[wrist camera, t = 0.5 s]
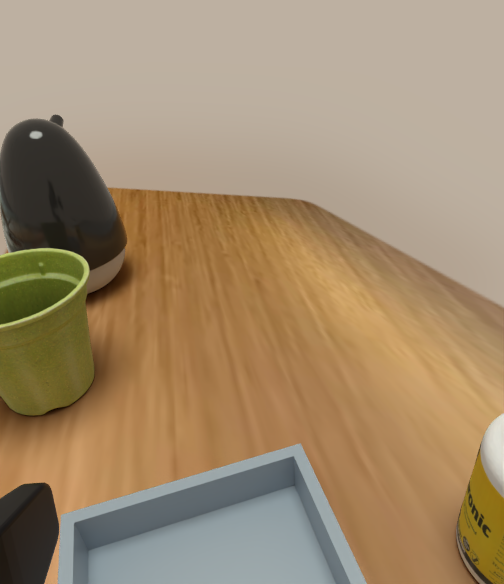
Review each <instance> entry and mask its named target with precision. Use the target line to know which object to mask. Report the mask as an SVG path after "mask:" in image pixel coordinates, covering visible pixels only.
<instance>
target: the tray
mask: <svg viewBox="0 0 504 584" xmlns="http://www.w3.org/2000/svg"><path fill="white" fill-rule="evenodd" d="M58 584H367V583H366V581H365V579H364V577H363V575H362V572H361V570H360V568H359V566H358V564H357V562H356V560H355V558H354V556H353V553H352V551H351V549H350V547H349V545H348V543H347V541H346V539H345V537H344V534H343V532H342V530H341V528H340V526H339V524H338V522H337V520H336V518H335V515H334V513H333V511H332V509H331V507H330V505H329V503H328V501H327V498H326V496H325V494H324V492H323V490H322V488H321V486H320V484H319V482H318V479H317V477H316V475H315V473H314V471H313V469H312V467H311V465H310V463H309V460H308V458H307V456H306V454H305V452H304V450H303V448H302V446H301V444H297V445H294V446H290V447H287V448H284V449H280V450H277V451H274V452H270V453H267V454H263V455H260V456H257V457H253V458H250V459H247V460H243V461H240V462H237V463H233V464H230V465H227V466H223V467H220V468H217V469H213V470H210V471H207V472H203V473H200V474H197V475H193V476H190V477H186V478H183V479H180V480H176V481H173V482H170V483H166V484H163V485H160V486H156V487H153V488H150V489H146V490H143V491H140V492H136V493H133V494H130V495H126V496H123V497H120V498H116V499H113V500H109V501H106V502H103V503H99V504H96V505H93V506H89V507H86V508H83V509H79V510H76V511H73V512H69V513H66V514H63V515H61V528H60V548H59V569H58Z"/></svg>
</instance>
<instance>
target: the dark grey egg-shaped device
mask: <svg viewBox="0 0 504 584" xmlns="http://www.w3.org/2000/svg"><path fill="white" fill-rule="evenodd" d="M0 211H1V219H2V225H3V230H4V235H5V239H6V244H7V248H8V252H9V253H12V252H17V251H22V250H30V249H39V248H53V249H61V250H67V251H71V252H74V253H76V254H78V255H80V256H82V257H83V258H84V259H85V260H86V261H87V263H88V265H89V269H90V276H89V280H88V282H87V284H86V285H87V294H88V293H91V292H94V291H96V290H98V289H100V288H102V287H104V286H105V285H107V284H108V283H109V282H110V281H111V280H112V279H113V278H114V277H115V276H116V275H117V273H118V272H119V270H120V268H121V266H122V264H123V260H124V255H125V246H126V244H127V235H126V231H125V228H124V225H123V222H122V219H121V217H120V214H119V212H118V210H117V207H116V205H115V203H114V201H113V198H112V196H111V194H110V192H109V190H108V188H107V187H106V185H105V183H104V181H103V179H102V178H101V176H100V174H99V173H98V171H97V169H96V167H95V166H94V164H93V163H92V161H91V160H90V158H89V157H88V155H87V154H86V152H85V151H84V150H83V148H82V147H81V146H80V145H79V144H78V142H77V141H76V140H75V139H74V138H73V137H72V136H71V135H70V134H69V133H68V132H67V131H66V130H65V129H64V128H63V119H62V117H60V116H59V115H53V116H52V117H51V119H50V121H48V120H44V119H28V120H25V121H22V122H20V123H18V124H16V125H15V126H14V127H12V128H11V129H10V131H9V132H8V133H7V134H6V136H5V139H4V141H3V144H2V148H1V153H0Z"/></svg>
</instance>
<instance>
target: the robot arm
mask: <svg viewBox="0 0 504 584" xmlns="http://www.w3.org/2000/svg"><path fill="white" fill-rule="evenodd" d="M58 535H59V523H58V518H57V513H56V508H55V504H54V499H53V494H52V490H51V488H50V486H49V485H48V484H46V483H32V484H23V485H21V486H19V487H17V488H16V489H14V490H13V491H11V492H10V493H8V494H7V495H5V496H3V497H2V498H0V584H44V583H45V579H46V576H47V573H48V569H49V566H50V563H51V560H52V556H53V553H54V550H55V547H56V543H57V540H58Z"/></svg>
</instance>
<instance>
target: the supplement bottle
mask: <svg viewBox="0 0 504 584" xmlns="http://www.w3.org/2000/svg"><path fill="white" fill-rule="evenodd" d="M456 538H457V544H458V548H459V551H460V554H461V557H462V559H463V561H464V563H465V565H466V566H467V568H468V570H469V571H470V573H471V574H472V575H473V577H474V578H475V579H476V580H477V581H478V582H479V583H480V584H504V413H503V414H502V415H500V416H499V417H497V418H496V419H495V420H494V421H493V422H492V423H491V424H490V425H489V427H488V428H487V430H486V432H485V434H484V436H483V439H482V442H481V445H480V449H479V452H478V455H477V459H476V462H475V466H474V469H473V472H472V475H471V478H470V482H469V485H468V488H467V491H466V495H465V498H464V501H463V504H462V507H461V510H460V514H459V517H458V521H457V528H456Z"/></svg>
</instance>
